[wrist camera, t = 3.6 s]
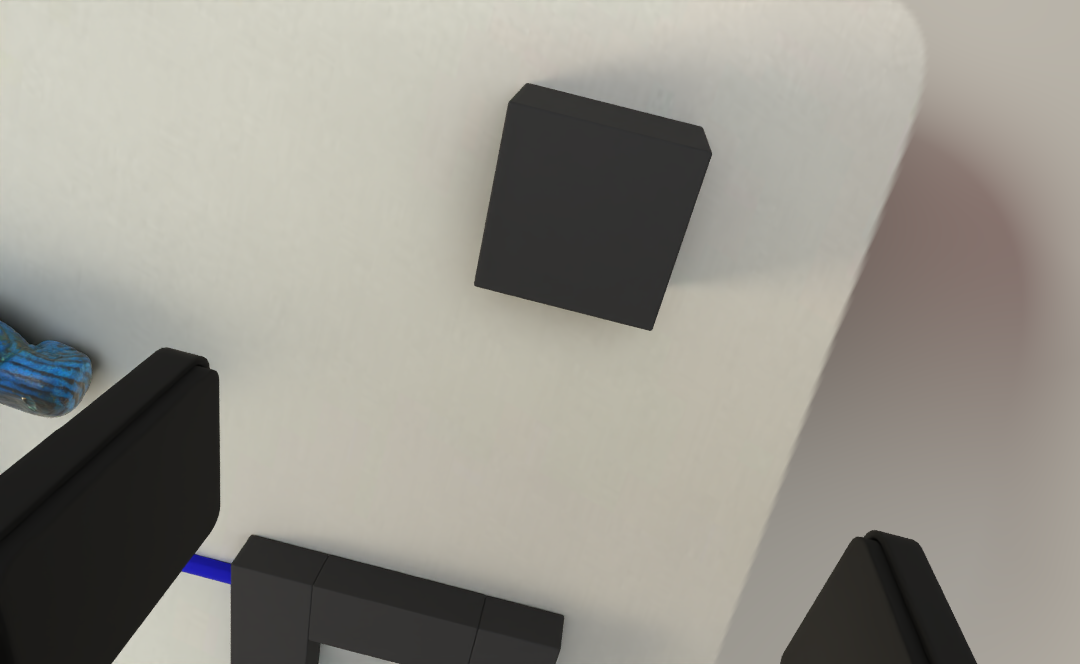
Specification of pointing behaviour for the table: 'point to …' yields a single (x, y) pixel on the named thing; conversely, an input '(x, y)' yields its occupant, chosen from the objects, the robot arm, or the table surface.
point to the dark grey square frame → (372, 614)
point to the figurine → (41, 375)
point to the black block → (589, 205)
